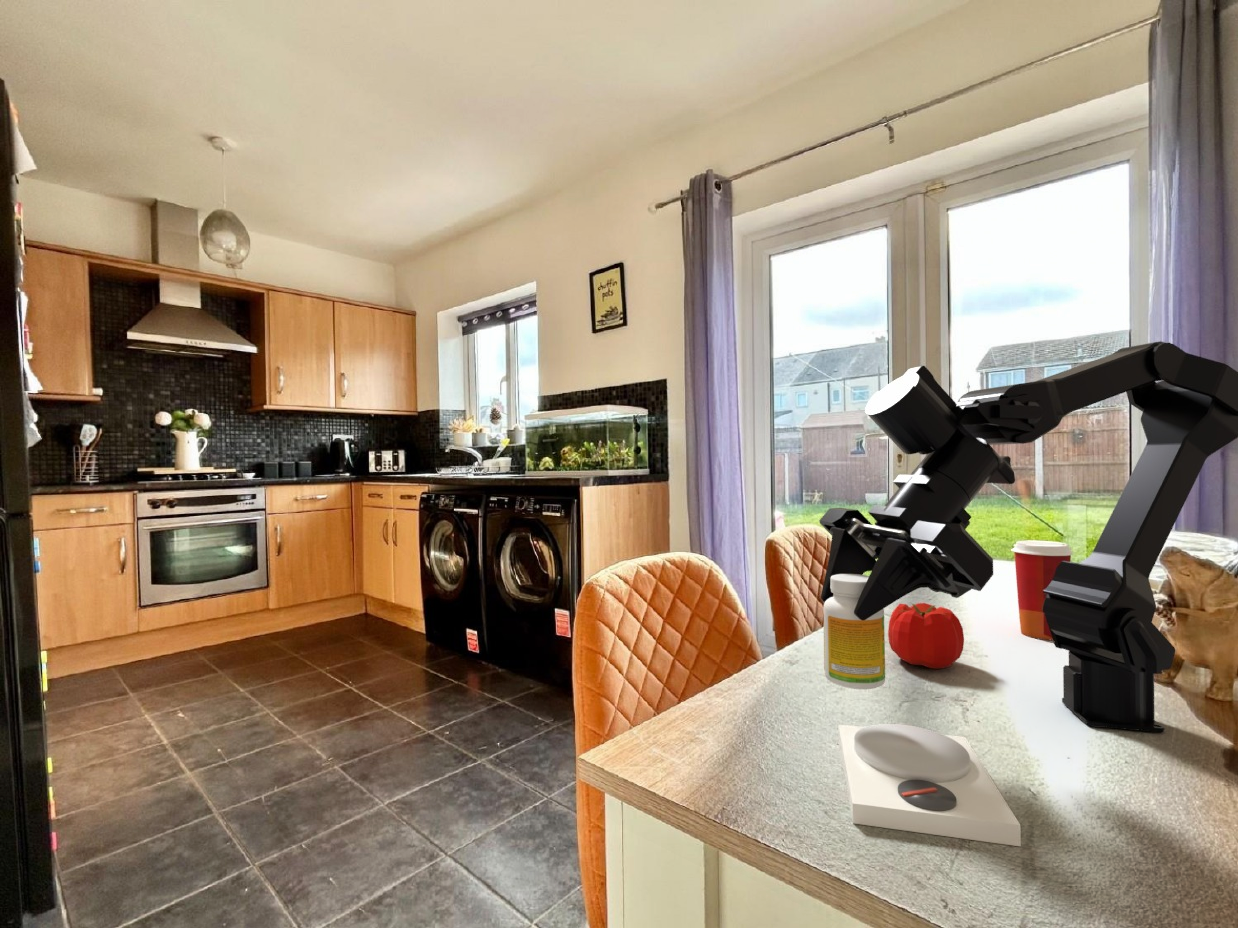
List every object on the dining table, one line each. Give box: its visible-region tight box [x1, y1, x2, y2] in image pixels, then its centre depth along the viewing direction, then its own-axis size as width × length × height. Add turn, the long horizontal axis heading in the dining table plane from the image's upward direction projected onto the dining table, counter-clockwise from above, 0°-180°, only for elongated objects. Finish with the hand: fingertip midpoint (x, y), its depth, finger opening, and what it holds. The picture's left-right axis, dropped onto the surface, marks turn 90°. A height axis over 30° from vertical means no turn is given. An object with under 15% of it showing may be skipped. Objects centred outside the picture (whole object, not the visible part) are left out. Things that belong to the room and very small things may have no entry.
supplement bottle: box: [822, 574, 886, 690], centre depth 57 cm, size 5×5×10 cm
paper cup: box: [1010, 539, 1074, 641], centre depth 93 cm, size 8×8×14 cm
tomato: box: [887, 602, 965, 670], centre depth 81 cm, size 9×9×8 cm
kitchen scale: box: [837, 723, 1022, 847], centre depth 51 cm, size 11×14×2 cm
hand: (840, 609), depth 57 cm, fingers closed on supplement bottle, 5 cm apart
